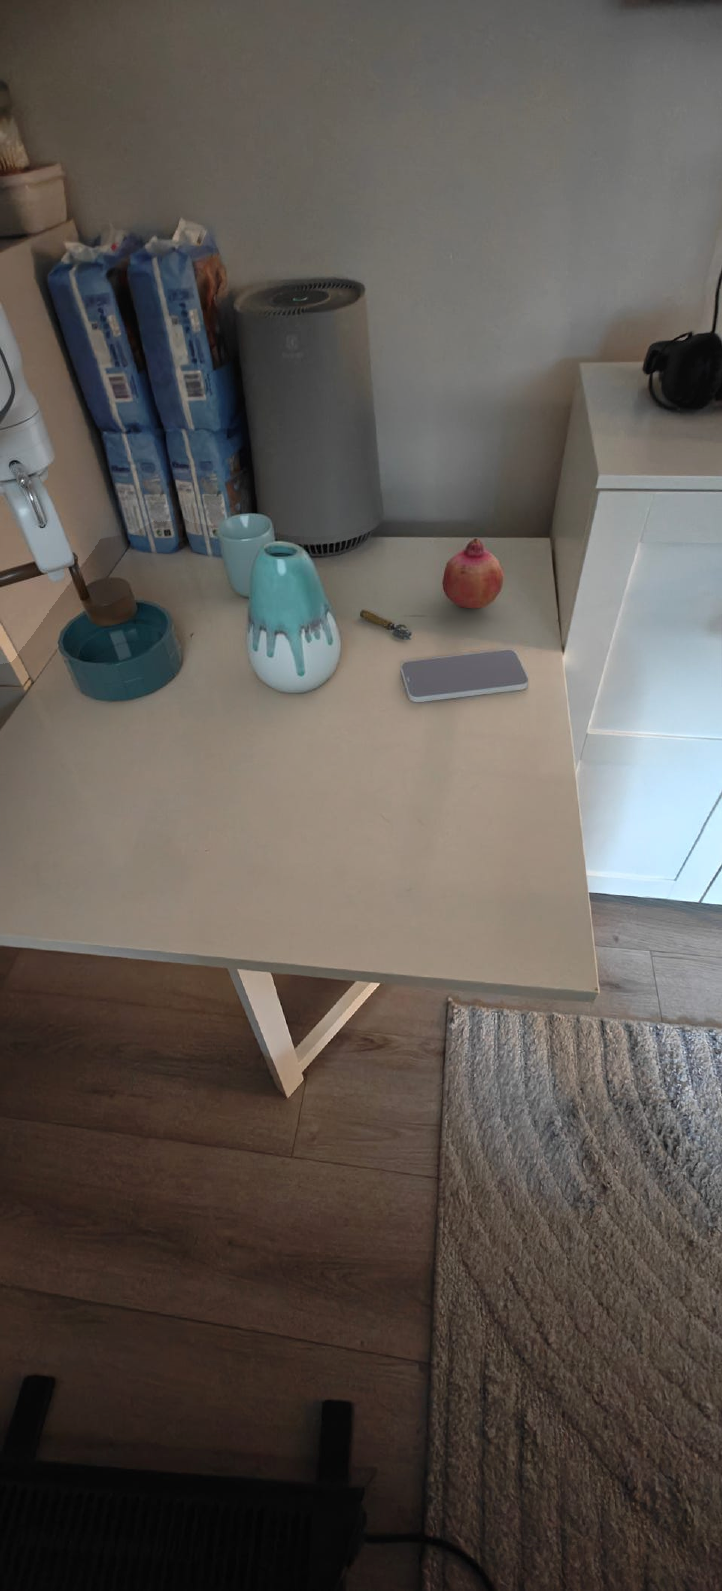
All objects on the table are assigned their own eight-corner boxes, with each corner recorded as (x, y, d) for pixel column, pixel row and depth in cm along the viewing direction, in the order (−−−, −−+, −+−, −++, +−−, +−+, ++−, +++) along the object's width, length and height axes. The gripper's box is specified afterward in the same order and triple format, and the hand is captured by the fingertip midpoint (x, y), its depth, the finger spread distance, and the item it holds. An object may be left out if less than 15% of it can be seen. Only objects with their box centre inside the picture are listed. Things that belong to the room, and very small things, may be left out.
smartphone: (531, 683, 89) (409, 698, 88) (530, 689, 89) (409, 704, 88) (514, 647, 94) (399, 661, 93) (513, 653, 94) (399, 667, 93)
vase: (331, 641, 98) (319, 514, 85) (353, 694, 90) (343, 563, 77) (246, 658, 97) (220, 531, 83) (261, 714, 89) (235, 583, 76)
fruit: (431, 600, 104) (432, 534, 96) (480, 585, 106) (485, 519, 98) (460, 629, 98) (463, 562, 91) (511, 612, 100) (518, 545, 93)
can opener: (359, 618, 101) (358, 611, 100) (371, 611, 102) (371, 604, 101) (406, 644, 97) (406, 637, 96) (418, 637, 98) (418, 629, 97)
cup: (279, 604, 105) (269, 539, 98) (226, 605, 105) (212, 541, 98) (284, 575, 110) (275, 511, 103) (233, 577, 111) (221, 513, 103)
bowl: (131, 717, 90) (117, 678, 85) (51, 683, 95) (33, 645, 91) (204, 654, 98) (194, 616, 93) (126, 627, 103) (113, 589, 99)
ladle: (128, 593, 92) (108, 527, 86) (143, 616, 89) (123, 549, 82) (-25, 641, 86) (-59, 575, 80) (-15, 668, 83) (-51, 601, 76)
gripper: (61, 475, 67) (106, 605, 77) (16, 408, 80) (60, 528, 90) (-9, 492, 65) (47, 624, 75) (-44, 421, 78) (8, 542, 88)
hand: (54, 571), depth 83 cm, fingers closed on ladle
